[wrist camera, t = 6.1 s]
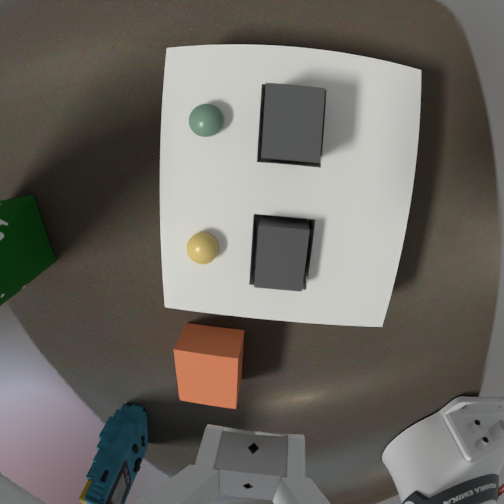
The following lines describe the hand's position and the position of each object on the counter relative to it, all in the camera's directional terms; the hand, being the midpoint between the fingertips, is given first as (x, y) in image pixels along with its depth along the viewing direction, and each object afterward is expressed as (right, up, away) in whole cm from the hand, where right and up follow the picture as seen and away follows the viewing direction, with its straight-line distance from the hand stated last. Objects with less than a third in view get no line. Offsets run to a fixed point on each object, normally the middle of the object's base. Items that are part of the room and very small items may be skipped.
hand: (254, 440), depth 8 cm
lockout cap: (-3, -4, +20) cm, 20 cm away
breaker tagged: (+2, +7, +14) cm, 16 cm away
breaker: (+2, +14, +10) cm, 18 cm away
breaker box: (+2, +11, +14) cm, 18 cm away
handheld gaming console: (-15, -17, +26) cm, 34 cm away
